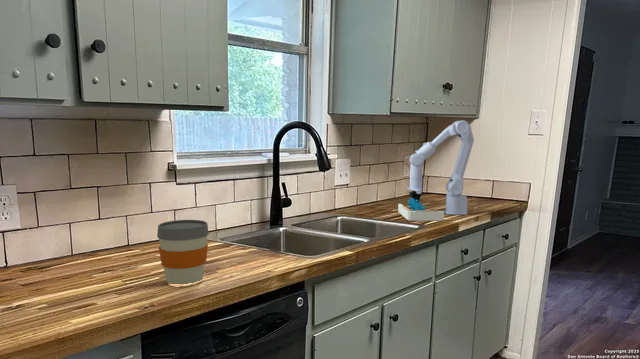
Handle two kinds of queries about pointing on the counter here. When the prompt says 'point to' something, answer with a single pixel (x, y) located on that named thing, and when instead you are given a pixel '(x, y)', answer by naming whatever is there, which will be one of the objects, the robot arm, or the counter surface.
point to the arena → (420, 214)
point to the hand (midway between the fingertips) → (415, 206)
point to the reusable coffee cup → (183, 250)
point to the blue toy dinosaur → (416, 205)
